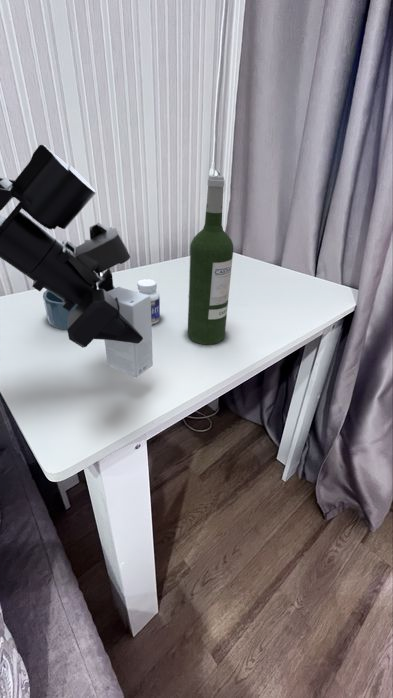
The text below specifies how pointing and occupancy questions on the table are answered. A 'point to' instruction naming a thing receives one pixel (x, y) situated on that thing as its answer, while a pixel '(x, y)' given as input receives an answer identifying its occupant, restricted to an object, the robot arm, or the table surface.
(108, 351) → the cosmetic box
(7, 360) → the table surface
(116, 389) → the table surface
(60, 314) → the bowl
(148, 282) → the pill bottle
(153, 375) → the table surface
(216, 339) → the wine bottle
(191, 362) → the table surface
